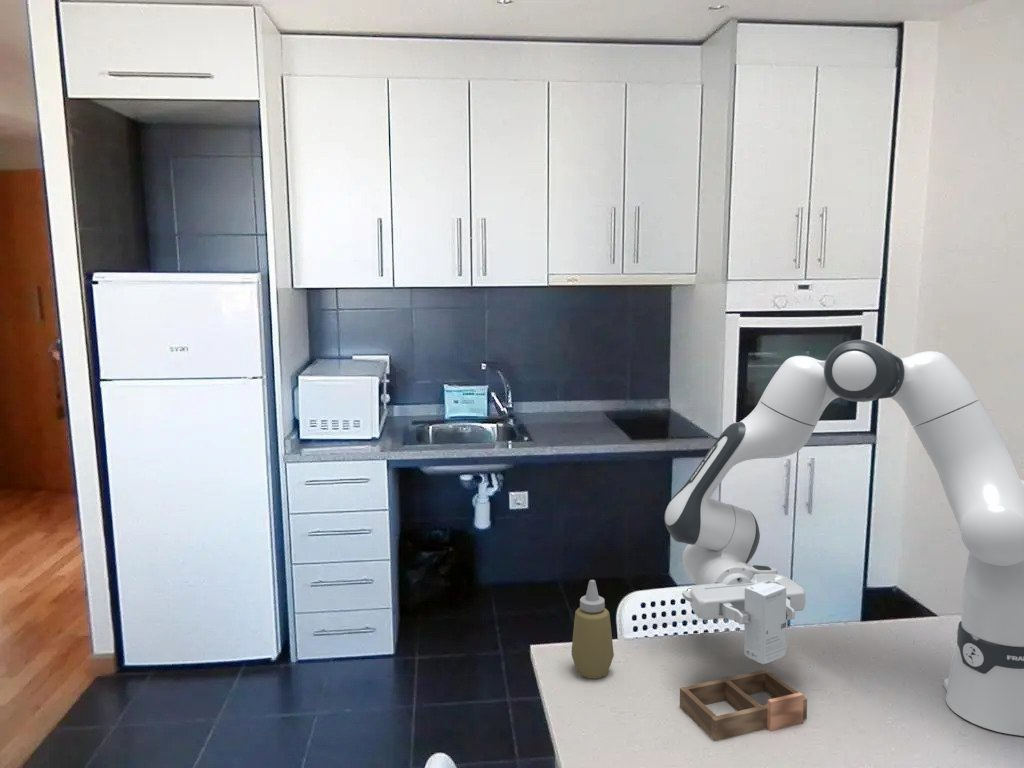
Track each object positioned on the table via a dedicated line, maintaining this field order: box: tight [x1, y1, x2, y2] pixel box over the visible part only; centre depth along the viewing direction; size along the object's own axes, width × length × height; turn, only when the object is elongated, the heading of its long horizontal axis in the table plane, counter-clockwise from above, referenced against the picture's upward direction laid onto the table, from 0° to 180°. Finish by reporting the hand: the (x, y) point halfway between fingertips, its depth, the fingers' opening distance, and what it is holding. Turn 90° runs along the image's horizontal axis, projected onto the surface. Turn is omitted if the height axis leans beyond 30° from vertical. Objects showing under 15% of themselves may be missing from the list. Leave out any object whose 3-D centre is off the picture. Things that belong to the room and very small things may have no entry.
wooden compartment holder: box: [679, 668, 808, 742], centre depth 124 cm, size 18×11×5 cm, turn 109°
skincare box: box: [743, 581, 787, 665], centre depth 125 cm, size 6×4×12 cm
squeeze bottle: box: [571, 579, 615, 679], centre depth 139 cm, size 8×8×18 cm
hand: (768, 617), depth 124 cm, fingers closed on skincare box, 7 cm apart
